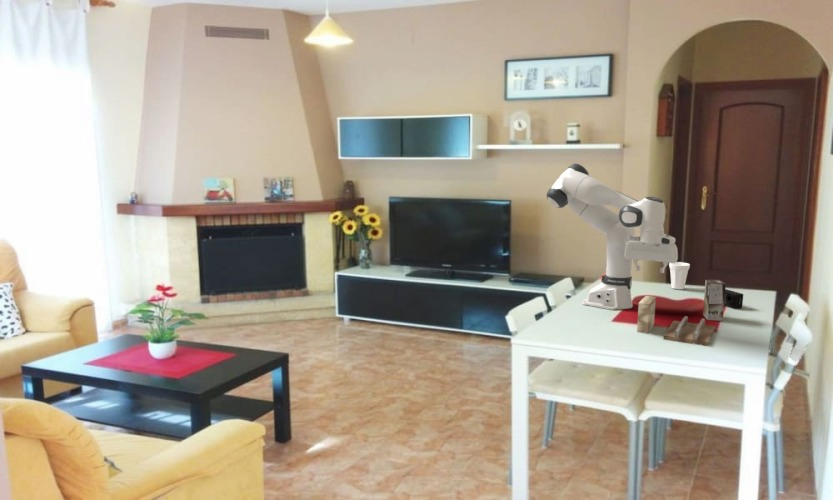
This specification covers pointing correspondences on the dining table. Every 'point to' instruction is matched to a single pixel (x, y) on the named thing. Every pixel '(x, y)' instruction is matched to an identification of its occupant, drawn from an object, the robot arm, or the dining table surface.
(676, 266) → the cup
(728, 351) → the dining table surface
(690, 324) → the track base
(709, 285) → the coffee box
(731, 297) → the digital camera
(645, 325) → the door panel
